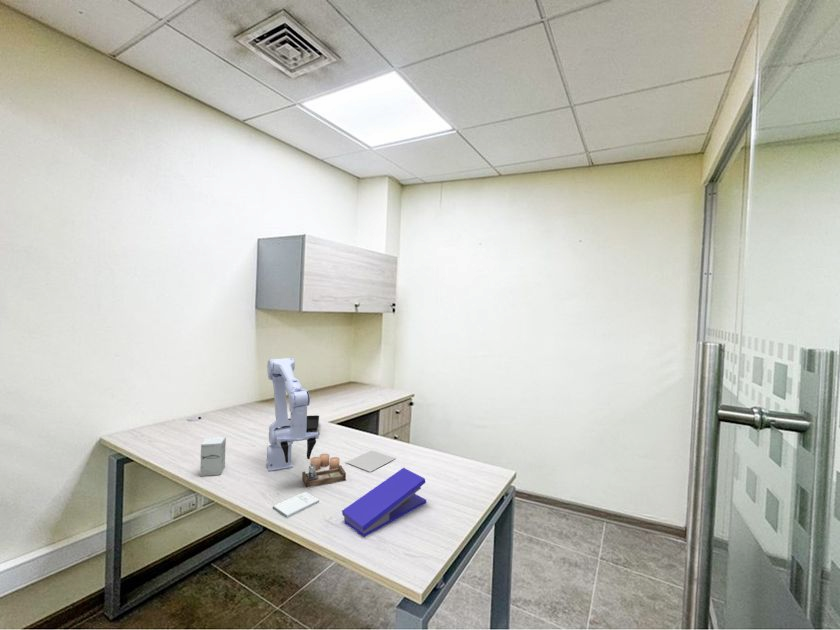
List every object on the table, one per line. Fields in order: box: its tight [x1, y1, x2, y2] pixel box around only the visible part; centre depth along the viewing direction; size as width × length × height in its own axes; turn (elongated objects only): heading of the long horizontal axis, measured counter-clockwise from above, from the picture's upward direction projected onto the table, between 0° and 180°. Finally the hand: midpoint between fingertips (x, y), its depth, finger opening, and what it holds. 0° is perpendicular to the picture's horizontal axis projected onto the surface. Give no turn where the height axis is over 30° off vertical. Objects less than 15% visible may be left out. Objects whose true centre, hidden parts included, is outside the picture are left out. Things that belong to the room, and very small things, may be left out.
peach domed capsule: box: [310, 456, 322, 472], centre depth 152 cm, size 4×4×4 cm
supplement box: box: [199, 436, 227, 477], centre depth 146 cm, size 7×7×13 cm
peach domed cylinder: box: [328, 456, 340, 470], centre depth 152 cm, size 4×4×4 cm
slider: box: [305, 465, 318, 481], centre depth 140 cm, size 3×5×5 cm, turn 27°
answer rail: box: [301, 464, 347, 489], centre depth 143 cm, size 15×7×3 cm, turn 117°
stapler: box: [341, 467, 427, 537], centre depth 123 cm, size 12×28×10 cm, turn 137°
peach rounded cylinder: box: [318, 453, 330, 468], centre depth 156 cm, size 4×4×4 cm
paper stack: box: [345, 449, 397, 473], centre depth 155 cm, size 23×25×1 cm
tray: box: [275, 414, 320, 433], centre depth 195 cm, size 30×23×5 cm
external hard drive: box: [272, 491, 320, 519], centre depth 125 cm, size 2×8×12 cm
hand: (297, 459), depth 138 cm, fingers open, 7 cm apart
